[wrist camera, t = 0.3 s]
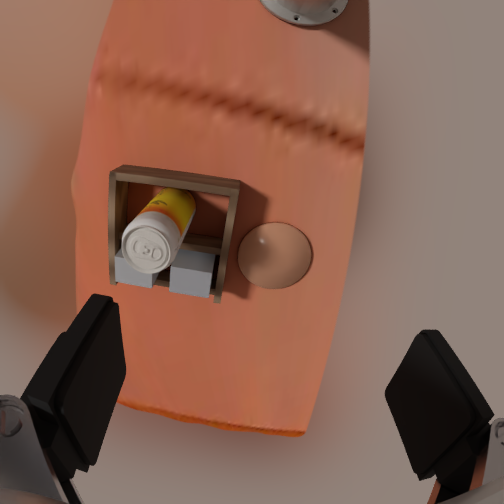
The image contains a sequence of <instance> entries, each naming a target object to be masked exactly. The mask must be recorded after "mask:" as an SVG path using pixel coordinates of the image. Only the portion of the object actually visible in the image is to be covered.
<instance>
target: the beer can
mask: <svg viewBox="0 0 504 504" xmlns="http://www.w3.org/2000/svg"><path fill="white" fill-rule="evenodd" d="M195 211H196V204H195V200H194V198H193V196H192V195H191V194H190V193H189V192H188V191H187V190H186V189H180V188H173V187H166V188H164V189H163V190H161V191H160V192H159V193H158V194H157V195H156V196H155V197H154V198H153V199H152V200H151V201H150V203H149V204H148V205H147V206H146V207H145V208H144V209H143V210H142V211H141V212H140V213H139V214H138V215H137V216H136V217H135V219H134V220H133V221H132V222H131V223H130V224H129V225H128V226H127V228H126V229H125V231H124V233H123V236H122V253H123V256H124V258H125V260H126V261H127V263H128V264H129V265H130V266H131V267H132V268H134V269H135V270H137V271H139V272H142V273H146V274H153V273H157V272H160V271H161V270H164V269H166V268H167V267H169V266H170V265H171V264H172V262H173V261H174V259H175V257H176V255H177V252H178V250H179V248H180V246H181V243H182V241H183V239H184V237H185V234H186V232H187V230H188V228H189V226H190V224H191V221H192V219H193V217H194V215H195Z"/></svg>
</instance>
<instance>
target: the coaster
mask: <svg viewBox="0 0 504 504" xmlns="http://www.w3.org/2000/svg"><path fill="white" fill-rule="evenodd" d="M310 261H311V249H310V245H309V243H308V241H307V239H306V237H305V236H304V234H303V233H302V232H301V231H300V230H298V229H297V228H296V227H294V226H292V225H289V224H287V223H282V222H269V223H265V224H262V225H259V226H257V227H255V228H254V229H252V230H251V231H250V232H249V233H248V234H246V236H245V237H244V238H243V240H242V242H241V244H240V246H239V250H238V263H239V267H240V270H241V272H242V273H243V275H244V276H245V277H246V278H247V279H248V280H249V281H250V282H251V283H253V284H255V285H257V286H259V287H262V288H266V289H280V288H284V287H287V286H290V285H292V284H294V283H295V282H297V281H298V280H299V279H300V278H301V277H302V276H303V275H304V274H305V273H306V271H307V269H308V267H309V265H310Z"/></svg>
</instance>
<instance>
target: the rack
mask: <svg viewBox="0 0 504 504" xmlns="http://www.w3.org/2000/svg"><path fill="white" fill-rule="evenodd" d="M128 182H135V183H143V184H151V185H159V186H166V187H173V188H180V189H187V190H194V191H201V192H207V193H214V194H220V195H226V196H230V200H229V206H228V212H227V218H226V224H225V230H224V236H223V239H222V238H216V237H210V236H204V235H197V234H191V233H186V234H185V237H184V239H183V241H182V243H181V246H180V248H179V249H184V250H190V251H196V252H203V253H209V254H215V255H220V262H219V268H218V275H217V279H214V278H212V282H211V287H210V293H209V294H212V295H214V302H213V303H220V302H221V296H222V289H223V283H224V277H225V271H226V265H227V259H228V253H229V247H230V241H231V236H232V230H233V224H234V218H235V213H236V207H237V201H238V196H239V190H240V180H234V179H228V178H222V177H215V176H209V175H202V174H195V173H188V172H181V171H173V170H166V169H158V168H149V167H141V166H132V165H122V166H120V167H118V168H116V169H114V170H112V171H110V174H109V198H108V250H109V275H110V284H113V285H116V284H117V283H118V282H116V281H115V255H116V254H117V253H118V251H119V250H120V249H121V248H122V236H123V233H124V231H125V229H126V228H127V226H128V225H129V224H127V199H128ZM154 285H159V286H164V287H170V271H165V270H161V271H160V272H159V274H158V276H157V278H156V280H155V283H154Z"/></svg>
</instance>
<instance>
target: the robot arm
mask: <svg viewBox="0 0 504 504" xmlns="http://www.w3.org/2000/svg"><path fill="white" fill-rule="evenodd" d="M260 2H261V3H262V5H263V6H264V7H265V8H266V9H267V10H268V11H269V12H270V13H271V14H273V15H274V16H276V17H277V18H279V19H281V20H283V21H286V22H288V23H292V24H296V25H302V26H316V25H321V24H324V23H327V22H330V21H331V20H333V19H335V18H336V17H337V16H339V15H340V14H341V13H342V11H343V10H344V9H345V7H346V5H347V3H348V0H260ZM333 11H335V13H334V12H333ZM294 18H297V19H298V20H297V21H296V20H294ZM125 375H126V363H125V356H124V349H123V341H122V333H121V324H120V314H119V305H118V303H115V302H113V298H112V297H110V296H105V295H99V294H92V295H91V297H90V298H89V299H88V301H87V302H86V304H85V305H84V306H83V308H82V309H81V311H80V312H79V314H78V315H77V316H76V318H75V319H74V321H73V322H72V324H71V325H70V327H69V328H68V330H67V331H66V332H63V333H61V334H60V335H59V337H58V338H57V340H56V341H55V343H54V344H53V346H52V347H51V349H50V350H49V352H48V354H47V355H46V357H45V358H44V360H43V361H42V363H41V365H40V366H39V368H38V369H37V371H36V373H35V374H34V376H33V377H32V379H31V381H30V383H29V384H28V386H27V388H26V389H25V391H24V393H23V395H22V396H21V398H20V399H19V398H17V397H15V396H12V395H0V504H84V502H83V501H82V498H81V497H80V495H79V493H78V491H77V489H76V487H75V485H74V483H73V481H72V478H73V477H74V474H75V471H76V469H78V470H81V471H84V472H88V469H89V465H92V466H94V465H95V464H96V462H97V458H98V455H99V452H100V449H101V446H102V443H103V439H104V436H105V433H106V430H107V427H108V424H109V421H110V418H111V416H112V413H113V410H114V407H115V404H116V401H117V398H118V396H119V393H120V390H121V387H122V385H123V382H124V379H125ZM385 398H386V401H387V403H388V406H389V408H390V411H391V413H392V415H393V418H394V421H395V423H396V426H397V428H398V431H399V434H400V436H401V439H402V442H403V444H404V447H405V450H406V452H407V455H408V458H409V461H410V463H411V466H412V469H413V471H414V473H416V474H417V476H418V478H419V481H421V480H424V479H427V478H431V477H432V476H434V475H435V474H436V477H437V479H436V482H435V484H434V487H433V490H432V493H431V495H430V498H429V501H428V503H427V504H504V418H498V419H496V420H494V421H493V423H492V424H491V425H490V424H489V423H488V422H489V421H490V420H491V418H492V417H493V416H494V413H493V412H492V410H491V408H490V406H489V405H488V403H487V402H486V400H485V399H484V397H483V395H482V394H481V392H480V390H479V389H478V387H477V386H476V384H475V382H474V381H473V379H472V378H471V376H470V375H469V373H468V372H467V370H466V369H465V367H464V366H463V364H462V363H461V361H460V360H459V358H458V357H457V356H456V354H455V353H454V351H453V350H452V348H451V347H450V346H449V344H448V343H447V341H446V340H445V338H444V337H443V336H442V334H441V333H440V332H439V331H438V330H422V331H421V332H420V333H419V334H417V336H416V337H415V338H414V340H413V342H412V344H411V346H410V348H409V349H408V351H407V353H406V355H405V357H404V359H403V360H402V362H401V364H400V366H399V367H398V369H397V371H396V373H395V374H394V376H393V378H392V379H391V381H390V383H389V384H388V386H387V388H386V390H385Z"/></svg>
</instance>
